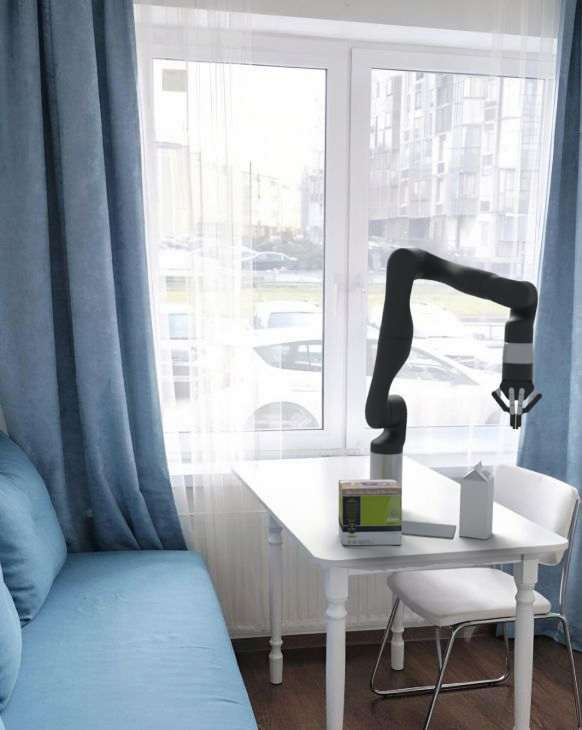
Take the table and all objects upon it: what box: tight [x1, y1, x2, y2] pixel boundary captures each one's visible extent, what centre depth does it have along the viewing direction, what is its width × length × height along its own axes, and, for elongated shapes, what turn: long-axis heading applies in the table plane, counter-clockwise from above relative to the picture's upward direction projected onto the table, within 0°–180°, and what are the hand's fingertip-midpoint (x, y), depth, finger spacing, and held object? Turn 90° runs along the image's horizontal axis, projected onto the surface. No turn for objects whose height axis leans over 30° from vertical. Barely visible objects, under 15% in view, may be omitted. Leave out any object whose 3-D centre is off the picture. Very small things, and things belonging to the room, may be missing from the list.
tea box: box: [337, 479, 403, 546], centre depth 209 cm, size 15×10×15 cm
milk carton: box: [458, 460, 495, 540], centre depth 214 cm, size 7×7×19 cm
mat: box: [402, 520, 457, 540], centre depth 219 cm, size 11×19×1 cm, turn 75°
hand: (515, 428), depth 209 cm, fingers closed
